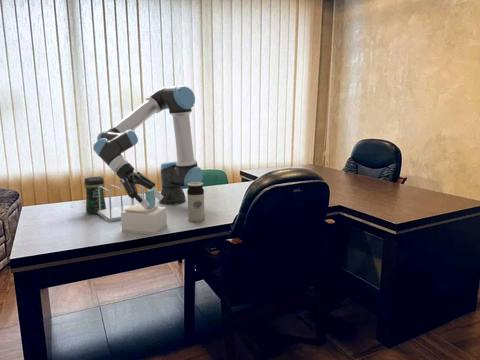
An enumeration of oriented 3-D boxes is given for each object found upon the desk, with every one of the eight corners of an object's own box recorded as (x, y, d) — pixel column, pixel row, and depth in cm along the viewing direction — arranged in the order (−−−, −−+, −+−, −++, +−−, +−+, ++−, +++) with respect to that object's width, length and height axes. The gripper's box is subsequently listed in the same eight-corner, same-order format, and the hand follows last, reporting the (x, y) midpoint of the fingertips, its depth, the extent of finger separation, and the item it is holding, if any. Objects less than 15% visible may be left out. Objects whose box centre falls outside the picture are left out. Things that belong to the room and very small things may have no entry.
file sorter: (109, 222, 180) (107, 190, 177) (97, 214, 193) (95, 184, 190) (157, 213, 195) (156, 183, 192) (143, 206, 208) (141, 178, 205)
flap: (125, 211, 165) (123, 191, 163) (136, 205, 174) (135, 186, 172) (148, 212, 162) (146, 193, 160) (158, 206, 172) (157, 188, 170)
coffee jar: (89, 215, 192) (86, 179, 188) (84, 211, 198) (81, 176, 194) (108, 211, 197) (105, 177, 194) (103, 208, 203) (100, 174, 200)
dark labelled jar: (188, 217, 187) (187, 182, 183) (204, 216, 188) (203, 181, 184) (187, 222, 179) (186, 185, 176) (204, 221, 180) (203, 185, 176)
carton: (121, 232, 166) (120, 212, 164) (135, 223, 177) (134, 205, 176) (155, 234, 162) (154, 214, 160) (167, 226, 174) (166, 207, 172)
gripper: (131, 168, 180) (161, 201, 179) (100, 178, 156) (135, 216, 155) (140, 158, 177) (171, 190, 177) (111, 166, 154) (146, 204, 153)
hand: (154, 202), depth 166 cm, fingers open, 13 cm apart
